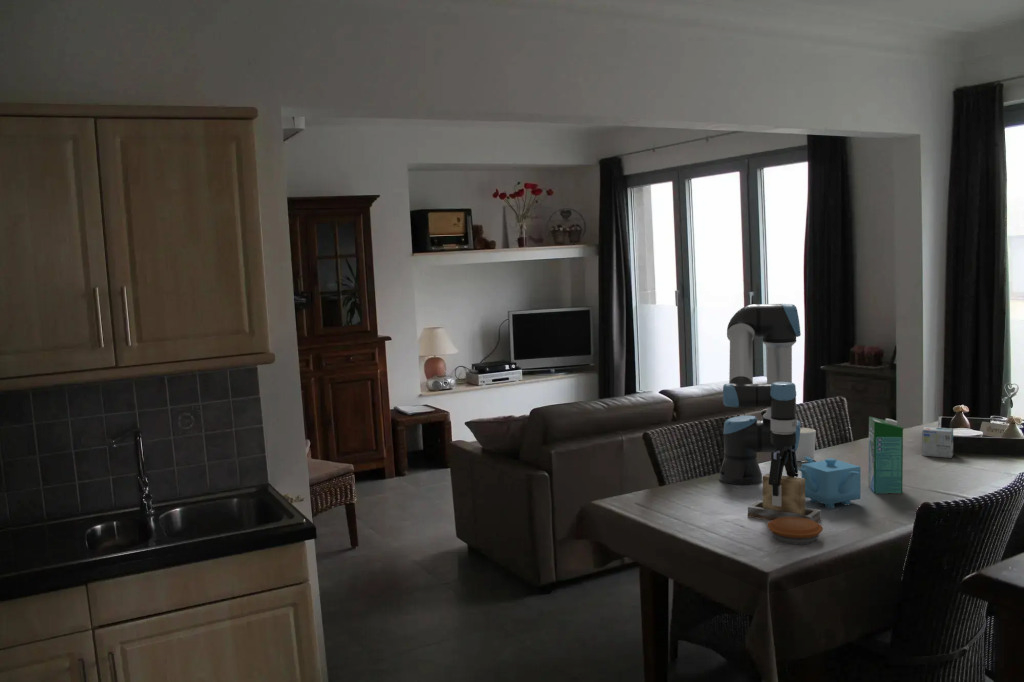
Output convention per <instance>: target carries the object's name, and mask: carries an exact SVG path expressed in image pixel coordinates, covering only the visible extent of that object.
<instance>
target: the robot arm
mask: <svg viewBox="0 0 1024 682" xmlns="http://www.w3.org/2000/svg"><path fill="white" fill-rule="evenodd" d="M726 337H727V340H728V341H729V373H728V375H729V378H728V379H729V380H728V381H729V383H725V384H724V383H723V386H722V401H723V402H722V403H723V405H724V406H725V407H728V408H729V407H730V408H766V412H765V413H764V414H763V415H762V419H761V420H758V418H757V416H755V415H739V416H734V417H730V418H728V419H726V420H725V421H724V423H723V432H722V433H723V453H724V454H723V460H722V464H721V467H720V470H719V480H720V481H721V482H723V483H726V484H730V485H741V486H743V485H755V484H760V483H761V482H763V474H762V471H761V468H760V465H759V462H758V457H757V456H758V453H770V459H771V460H770V467H769V474H770V475H769V485H772V505H774V506H780V507H781V485H780V482H781V477H782V476H783V473H784V472H783V471H784V468H785V472H786V476H790V477H797V478H799V470H798V469H799V468H798V462H797V461H796V453H795V451H796V450H797V448H798V445H799V439H800V428H802V427H801V426H802V424H801V421H800V420H797V414H796V413H797V411H796V410H797V389H796V384H795V383H794V382H793V381H792V380H793V363H792V362H793V357H792V356H793V355H792V354H793V350H792V349H793V345H795V343H796V342H797V338H799V337H801V326H800V319H799V313H798V309H797V306H796V305H795V304H792V303H767V304H766V303H765V304H764V303H763V304H761V303H760V304H757V303H756V304H747V305H746V306H744V307H742V308H740V309H739V310H738V311H736V312H735V314H733V316H732V317H731V318H730V320H729V322H728V324H727V329H726ZM755 337H757V338H760V337H761V339H762V344H764V345H765V346H766V383H754V382H753V381H754V376H753V373H754V371H753V367H754V366H753V342H754V339H755Z"/></svg>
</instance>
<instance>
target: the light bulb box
mask: <svg viewBox="0 0 1024 682" xmlns="http://www.w3.org/2000/svg"><path fill="white" fill-rule="evenodd" d="M921 439H922V447H921V448H922V450H921V452H922V454H921V455H922V456H925V457H933V458H934V457H936V458H948V459H952V457H953V456H954V428H952V427H951V428H950V427H949V428H948V427H935V426H933V427H929V426H924V427H923V428H922V437H921Z"/></svg>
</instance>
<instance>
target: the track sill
mask: <svg viewBox="0 0 1024 682" xmlns="http://www.w3.org/2000/svg"><path fill="white" fill-rule="evenodd" d="M821 515H822V514H821V510H820V509H815V508H809V507H805V515H802V514H796V513H790V512H784V511H778V510H772V509H766V508H763V500H757V501H755V502H753V503H752V504H751V505H749V506H747V517H750V518H755V519H760V520H765V521H772V520H775V519H777V518H781V517H801V518H806V519H810V520H813V521H814V522H816V523H818V522H819V521H821V520H820V519H822V517H821Z"/></svg>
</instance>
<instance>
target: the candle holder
mask: <svg viewBox="0 0 1024 682" xmlns="http://www.w3.org/2000/svg"><path fill="white" fill-rule="evenodd" d="M816 434H817V430H816V429H813V428H809V427H801V428H800V439H799V445H798V448H797V450H796V451H795V453H796V461H807V460H806V459H805V458H804V457H810V458H812V460H815V448H816Z"/></svg>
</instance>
